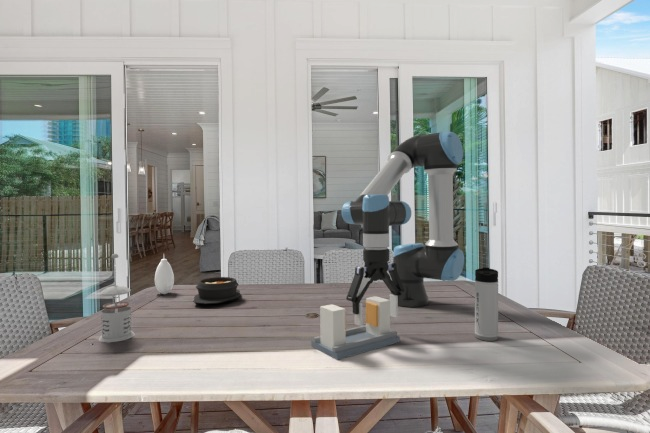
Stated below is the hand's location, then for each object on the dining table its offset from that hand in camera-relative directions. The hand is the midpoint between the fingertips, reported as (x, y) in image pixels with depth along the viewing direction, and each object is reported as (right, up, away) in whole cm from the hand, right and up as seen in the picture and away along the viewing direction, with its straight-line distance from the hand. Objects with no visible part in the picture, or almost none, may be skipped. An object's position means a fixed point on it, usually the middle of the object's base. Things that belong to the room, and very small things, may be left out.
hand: (376, 320), depth 115 cm
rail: (-6, -5, -4) cm, 9 cm away
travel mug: (+32, -5, 0) cm, 32 cm away
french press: (-78, -6, +5) cm, 78 cm away
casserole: (-59, -4, +48) cm, 76 cm away
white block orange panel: (0, -4, 0) cm, 4 cm away
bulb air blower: (-86, -4, +61) cm, 106 cm away
